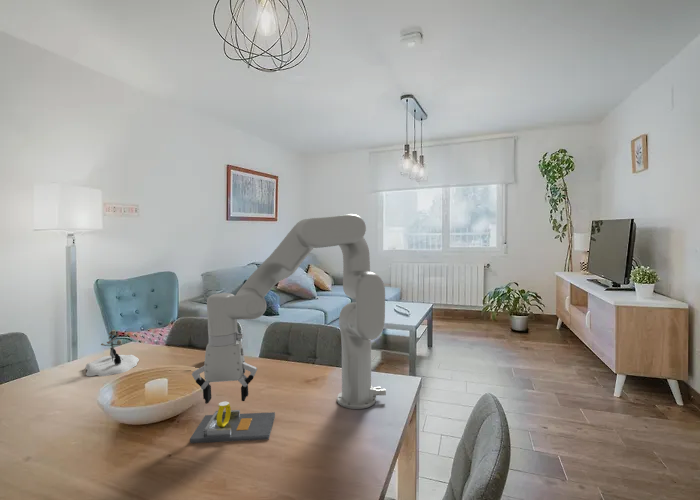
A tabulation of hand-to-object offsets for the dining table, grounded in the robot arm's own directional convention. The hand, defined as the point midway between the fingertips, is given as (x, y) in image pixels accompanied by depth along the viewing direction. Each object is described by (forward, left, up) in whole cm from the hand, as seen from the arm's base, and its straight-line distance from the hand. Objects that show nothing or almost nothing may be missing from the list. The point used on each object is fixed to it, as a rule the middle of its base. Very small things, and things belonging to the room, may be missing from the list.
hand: (226, 400), depth 97 cm
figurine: (+60, -52, -9) cm, 79 cm away
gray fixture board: (-2, 0, -8) cm, 8 cm away
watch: (+1, 0, -7) cm, 7 cm away
